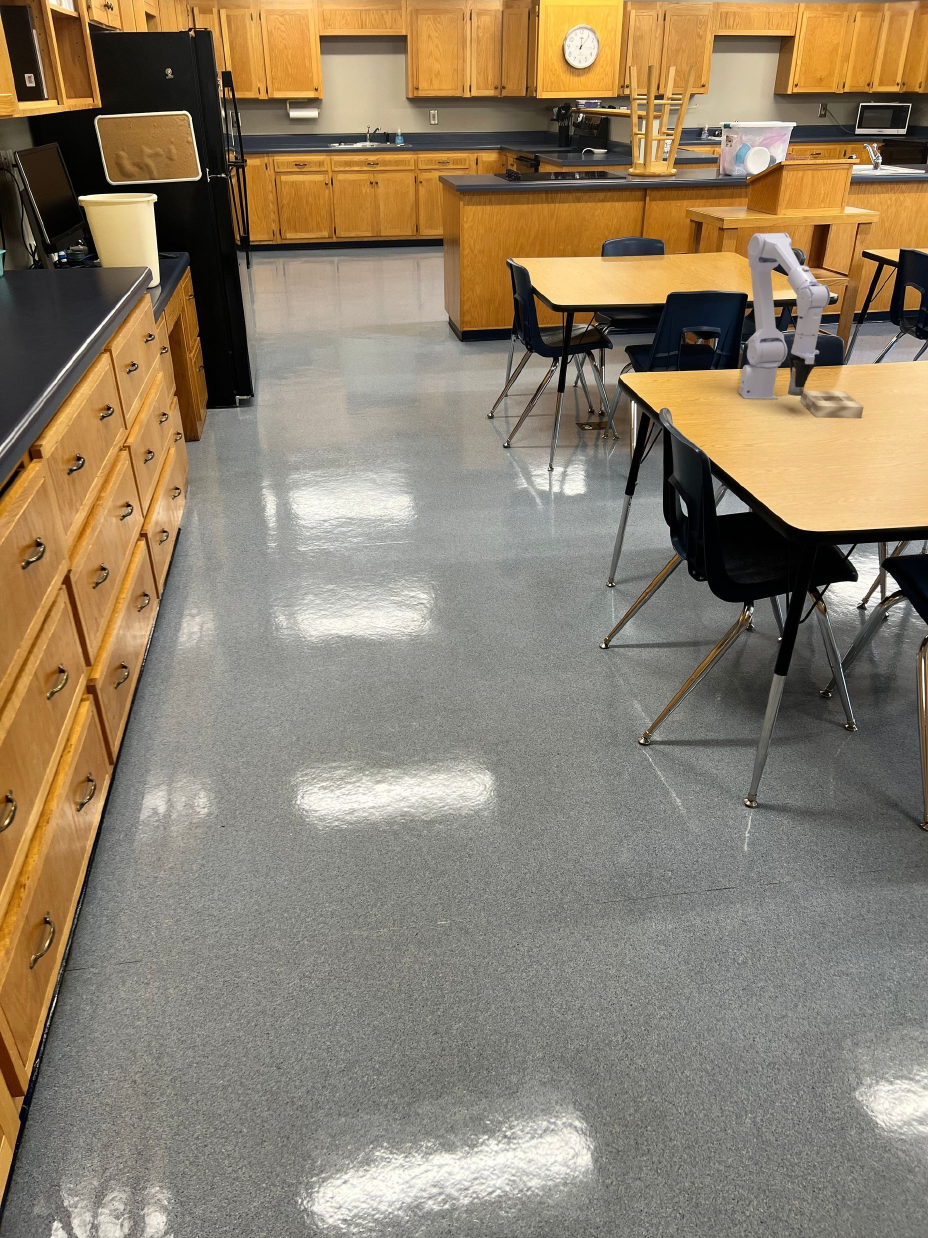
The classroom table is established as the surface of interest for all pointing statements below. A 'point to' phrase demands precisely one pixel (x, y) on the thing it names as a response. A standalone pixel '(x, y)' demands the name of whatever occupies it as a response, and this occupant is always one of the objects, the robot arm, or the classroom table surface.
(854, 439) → the classroom table surface
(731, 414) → the classroom table surface
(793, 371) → the pin
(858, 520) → the classroom table surface
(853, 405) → the block
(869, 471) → the classroom table surface
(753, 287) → the robot arm
